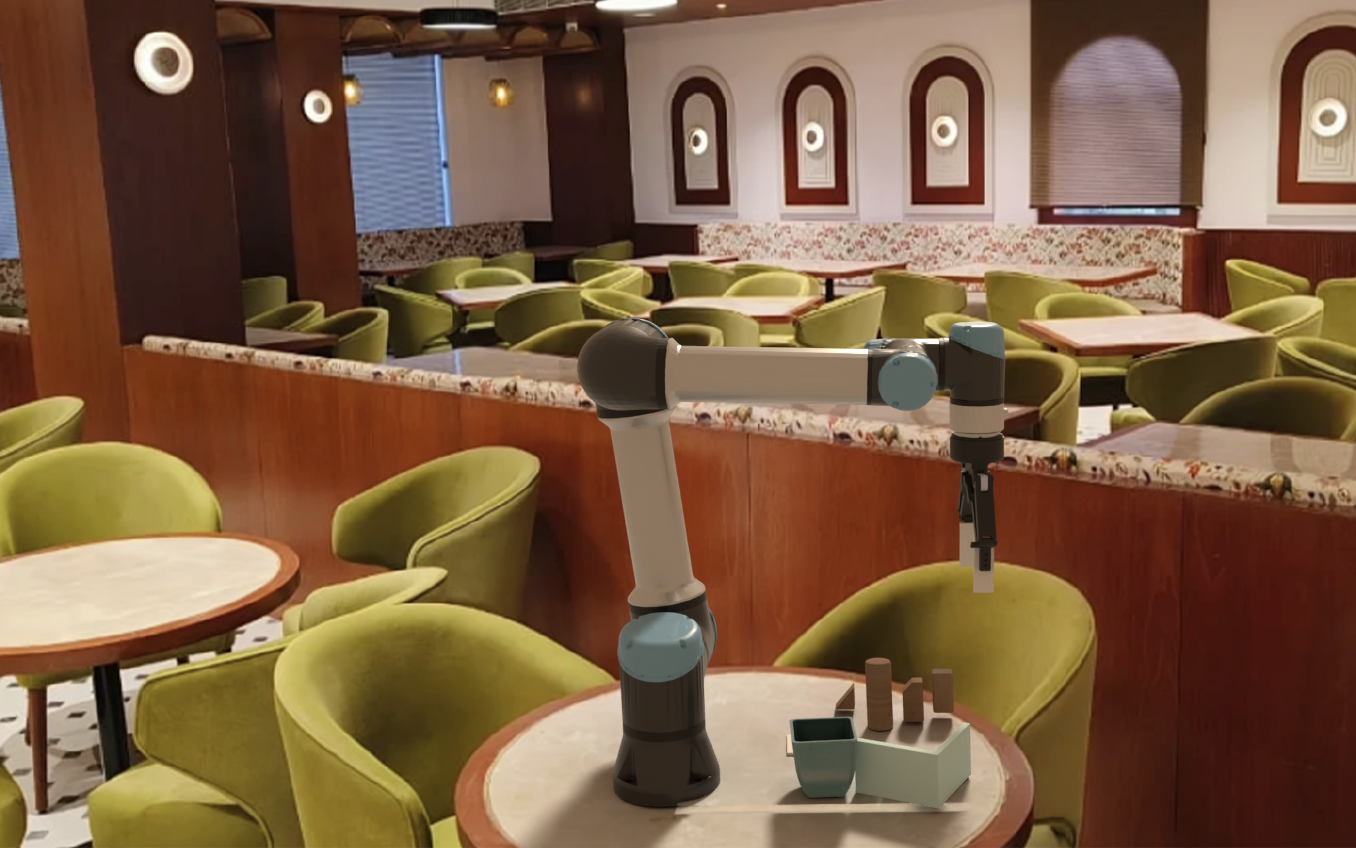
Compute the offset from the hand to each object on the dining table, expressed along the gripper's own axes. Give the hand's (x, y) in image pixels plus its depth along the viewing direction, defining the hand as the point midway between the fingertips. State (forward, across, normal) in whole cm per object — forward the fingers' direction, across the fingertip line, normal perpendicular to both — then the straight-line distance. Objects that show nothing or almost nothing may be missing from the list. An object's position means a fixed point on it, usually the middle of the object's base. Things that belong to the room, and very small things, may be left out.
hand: (976, 578), depth 208 cm
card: (+26, +2, +22) cm, 34 cm away
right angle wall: (+26, -13, +10) cm, 30 cm away
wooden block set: (+26, +10, +11) cm, 29 cm away
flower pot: (+26, -14, +23) cm, 37 cm away
